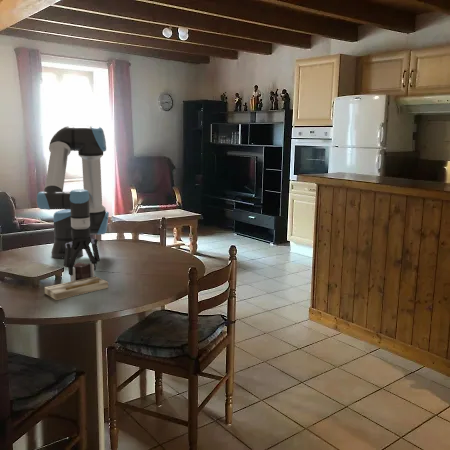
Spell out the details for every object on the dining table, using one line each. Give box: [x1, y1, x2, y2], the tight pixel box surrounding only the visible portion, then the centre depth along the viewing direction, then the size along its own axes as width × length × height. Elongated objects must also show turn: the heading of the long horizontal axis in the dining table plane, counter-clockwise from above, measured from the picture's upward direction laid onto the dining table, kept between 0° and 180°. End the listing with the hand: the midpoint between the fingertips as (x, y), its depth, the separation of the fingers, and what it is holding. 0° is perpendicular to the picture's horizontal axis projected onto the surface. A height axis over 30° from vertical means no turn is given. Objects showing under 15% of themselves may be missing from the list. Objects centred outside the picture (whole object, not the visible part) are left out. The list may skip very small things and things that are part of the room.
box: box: [69, 261, 91, 280], centre depth 200 cm, size 6×6×7 cm
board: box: [44, 275, 109, 301], centre depth 189 cm, size 10×22×3 cm, turn 134°
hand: (82, 280), depth 200 cm, fingers open, 8 cm apart
